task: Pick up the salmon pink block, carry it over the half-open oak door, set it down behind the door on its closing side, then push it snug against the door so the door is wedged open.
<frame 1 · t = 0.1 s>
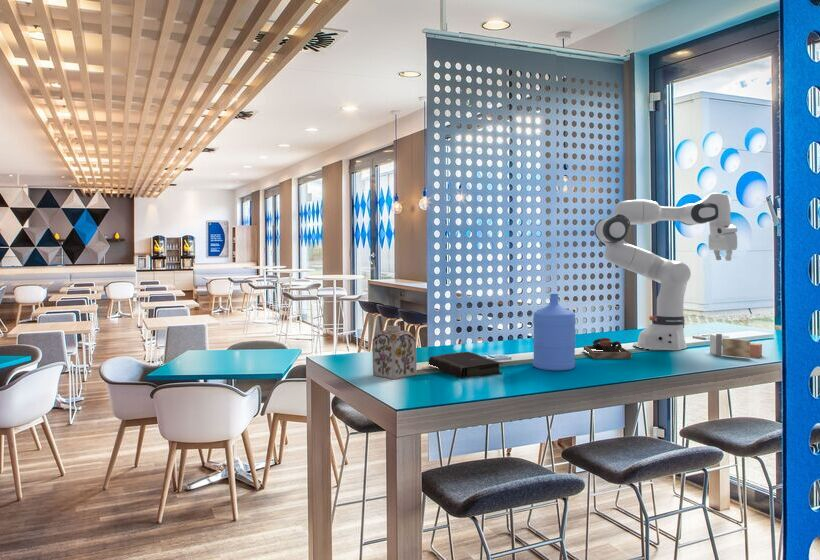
hand: (723, 260, 281), 39 cm above the table, tool pointing down, fingers open, 8 cm apart
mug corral: (606, 354, 266), on the table
salmon pink block: (754, 356, 260), on the table
water jug: (554, 367, 241), on the table
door: (736, 347, 257), point 4 cm above the table, hinge at 50.0°
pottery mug: (606, 355, 266), on the table
light grey slab: (718, 355, 262), on the table
decorative jar: (394, 375, 230), on the table
diary: (465, 371, 238), on the table
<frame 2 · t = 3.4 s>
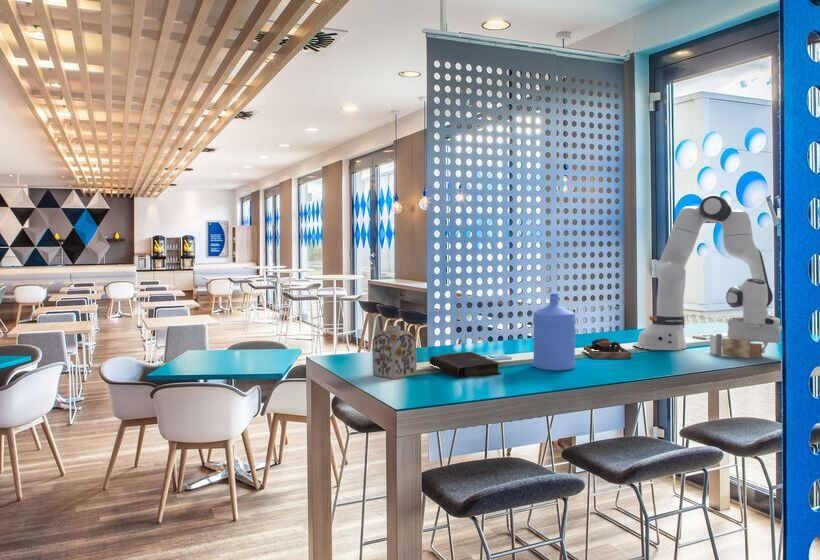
hand: (754, 352, 260), 2 cm above the table, tool pointing down, fingers closed on salmon pink block, 4 cm apart
salmon pink block: (754, 356, 260), on the table, touching gripper
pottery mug: (605, 356, 265), on the table
everything else where it was.
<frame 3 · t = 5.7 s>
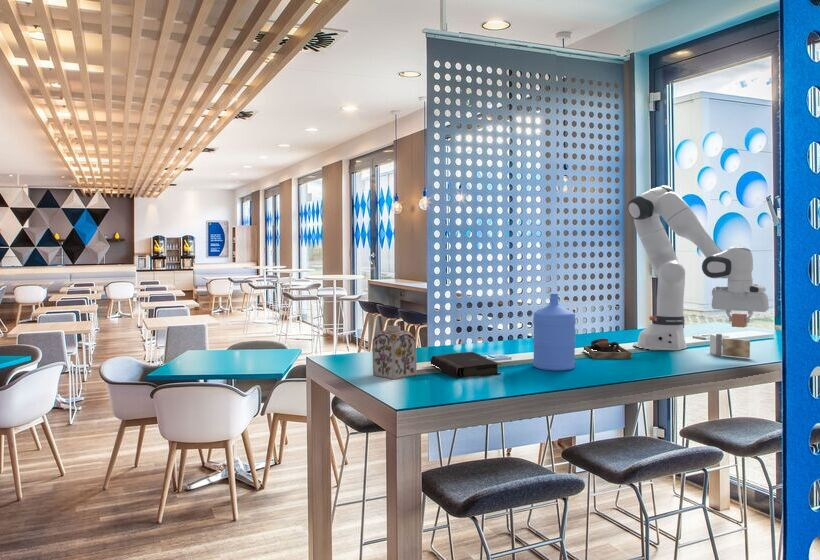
hand: (739, 321, 252), 15 cm above the table, tool pointing down, fingers closed on salmon pink block, 4 cm apart
salmon pink block: (739, 326, 253), point 13 cm above the table, touching gripper
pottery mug: (604, 356, 265), on the table, touching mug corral
everything else where it was.
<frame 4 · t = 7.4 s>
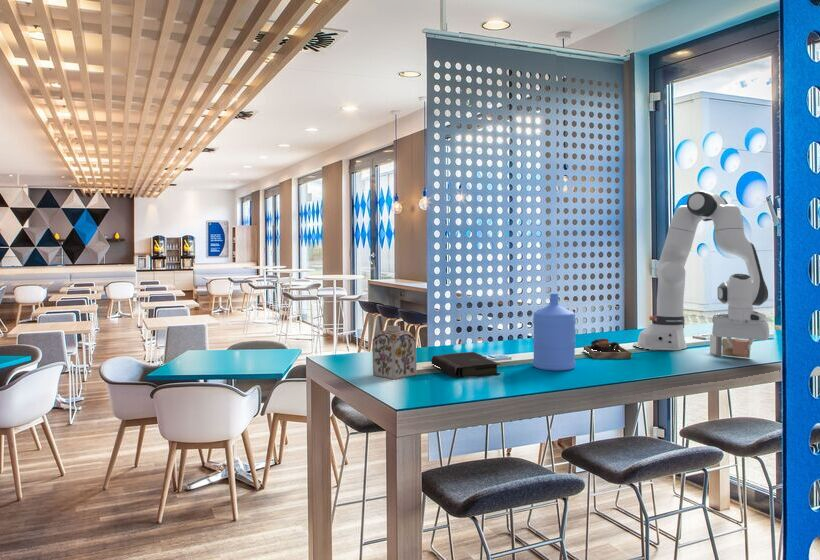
hand: (740, 349, 253), 4 cm above the table, tool pointing down, fingers closed on salmon pink block, 4 cm apart
salmon pink block: (740, 353, 253), point 2 cm above the table, touching gripper
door: (736, 347, 257), point 4 cm above the table, hinge at 51.0°
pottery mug: (604, 356, 264), on the table
when the fingers open (3 cm above the table, at t = 7.9 s): salmon pink block drops 1 cm, on the table.
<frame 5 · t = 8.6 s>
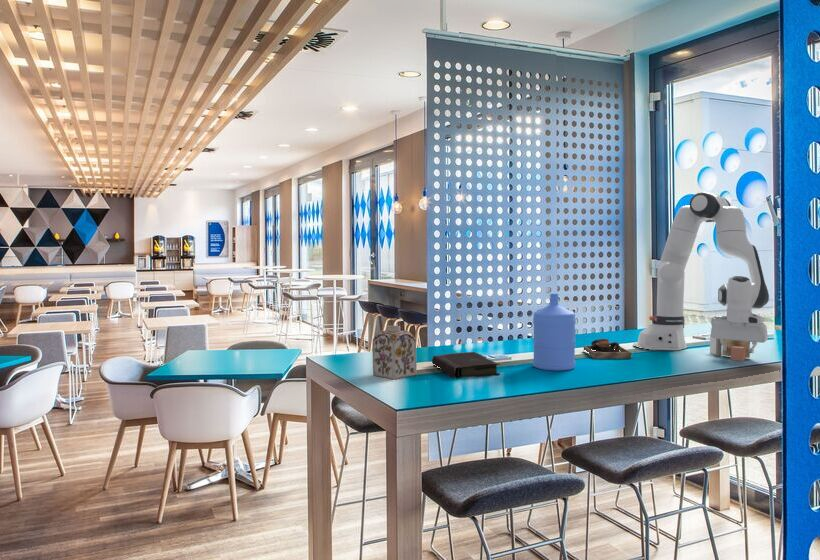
hand: (738, 351, 253), 3 cm above the table, tool pointing down, fingers open, 8 cm apart
salmon pink block: (738, 359, 253), on the table
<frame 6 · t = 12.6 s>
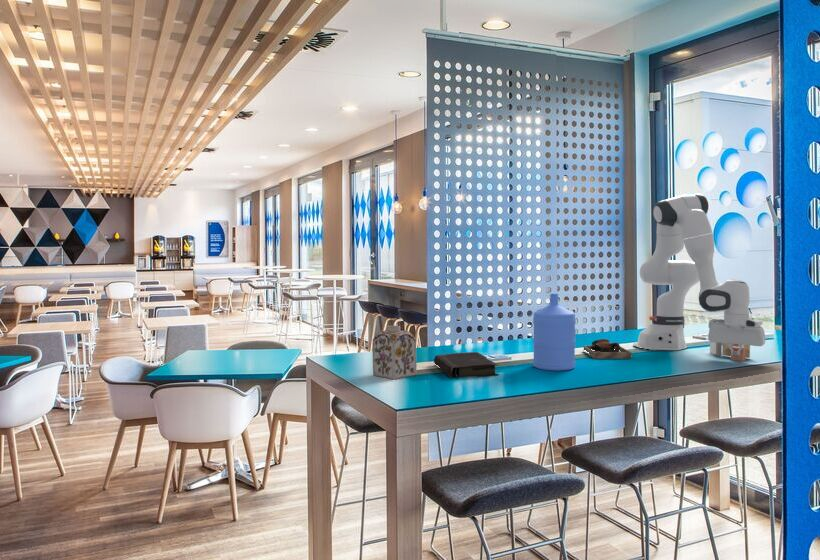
hand: (735, 355, 251), 2 cm above the table, tool pointing down, fingers closed
salmon pink block: (738, 359, 253), on the table, touching gripper
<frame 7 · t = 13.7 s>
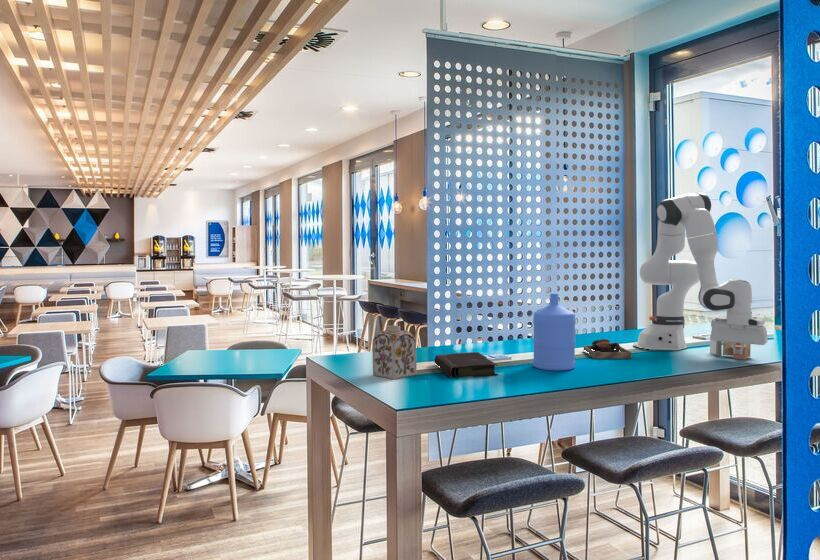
hand: (738, 354, 253), 2 cm above the table, tool pointing down, fingers closed
salmon pink block: (740, 358, 255), on the table, touching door, gripper
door: (736, 347, 259), point 4 cm above the table, hinge at 64.6°, touching salmon pink block
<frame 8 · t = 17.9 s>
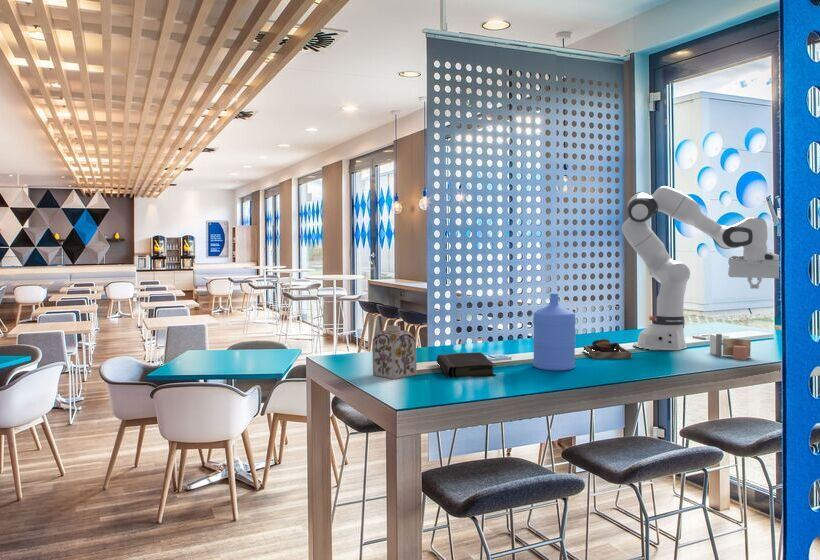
hand: (754, 288, 267), 27 cm above the table, tool pointing down, fingers closed
salmon pink block: (740, 358, 255), on the table
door: (736, 347, 259), point 4 cm above the table, hinge at 65.7°
at the end: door at +66° (first picture: +50°); salmon pink block inside the target area (0.5 cm from its centre), on the table; salmon pink block tilted 0° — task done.
